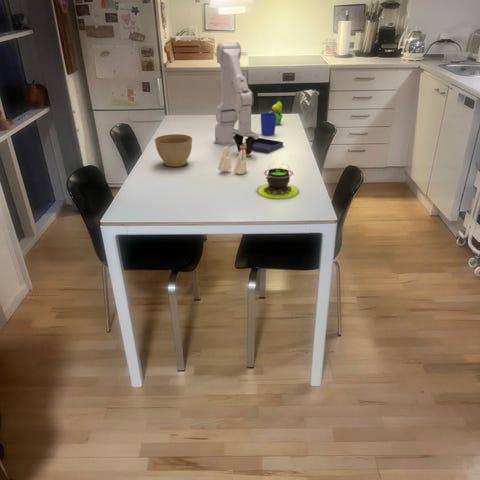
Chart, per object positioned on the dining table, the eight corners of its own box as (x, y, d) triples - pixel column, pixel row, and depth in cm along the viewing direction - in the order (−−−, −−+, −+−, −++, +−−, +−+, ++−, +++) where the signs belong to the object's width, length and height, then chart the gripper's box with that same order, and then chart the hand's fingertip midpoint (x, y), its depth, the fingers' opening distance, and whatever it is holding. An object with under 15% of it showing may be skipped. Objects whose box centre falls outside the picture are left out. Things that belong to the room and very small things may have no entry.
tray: (240, 148, 229) (240, 144, 228) (256, 142, 239) (256, 137, 237) (267, 154, 222) (267, 149, 221) (282, 146, 232) (283, 141, 230)
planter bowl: (198, 159, 216) (197, 135, 209) (185, 171, 203) (184, 145, 197) (165, 157, 219) (163, 132, 213) (151, 168, 206) (148, 142, 200)
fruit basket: (263, 121, 273) (263, 100, 267) (277, 120, 275) (278, 99, 269) (270, 126, 264) (270, 104, 258) (284, 125, 266) (285, 103, 260)
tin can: (237, 155, 220) (237, 144, 217) (243, 153, 223) (243, 142, 220) (245, 157, 218) (245, 146, 215) (251, 155, 221) (251, 144, 218)
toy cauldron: (273, 181, 192) (274, 154, 185) (304, 190, 184) (307, 161, 177) (250, 192, 182) (250, 163, 176) (282, 201, 175) (283, 171, 168)
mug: (276, 130, 256) (277, 111, 250) (275, 136, 246) (276, 116, 241) (261, 130, 257) (261, 110, 251) (259, 136, 247) (260, 116, 241)
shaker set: (217, 173, 200) (216, 146, 193) (219, 170, 203) (218, 144, 197) (245, 175, 198) (245, 148, 192) (246, 171, 202) (247, 145, 195)
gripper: (263, 122, 211) (262, 153, 218) (237, 117, 218) (237, 147, 226) (253, 125, 206) (253, 157, 214) (227, 120, 213) (228, 151, 221)
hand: (244, 152), depth 220 cm, fingers closed on tin can, 5 cm apart
